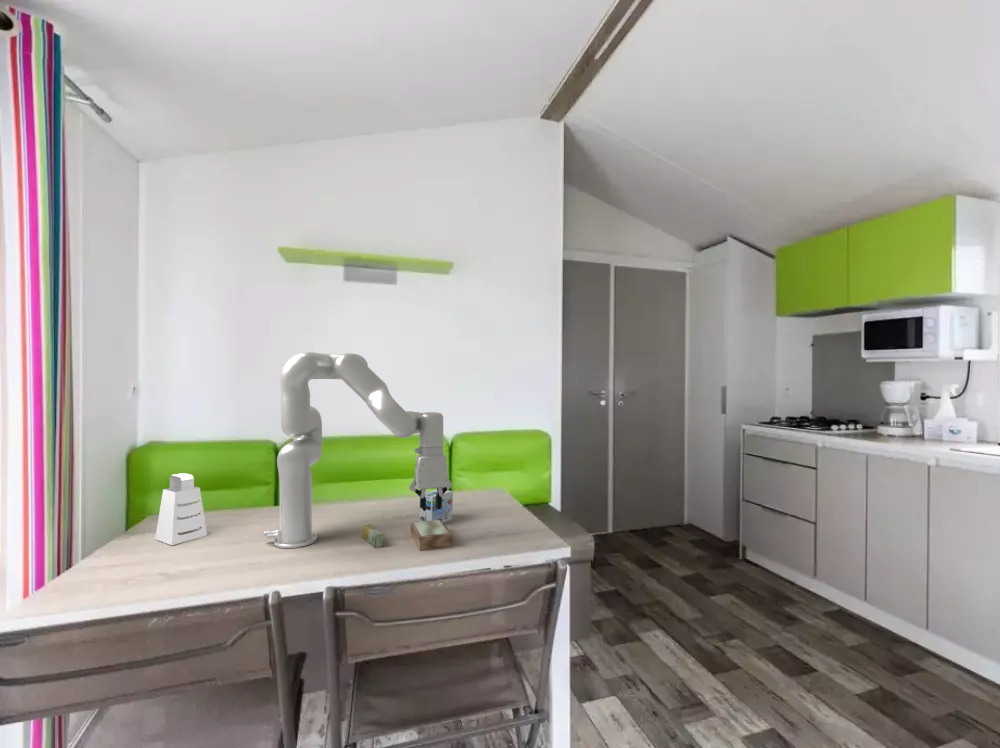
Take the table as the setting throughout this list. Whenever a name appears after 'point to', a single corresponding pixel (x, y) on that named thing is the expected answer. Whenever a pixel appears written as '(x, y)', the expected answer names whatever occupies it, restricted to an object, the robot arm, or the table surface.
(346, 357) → the robot arm
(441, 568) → the table surface
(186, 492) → the grater
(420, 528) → the mirror with brown frame
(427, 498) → the light bulb box
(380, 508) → the table surface
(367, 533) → the medication box
